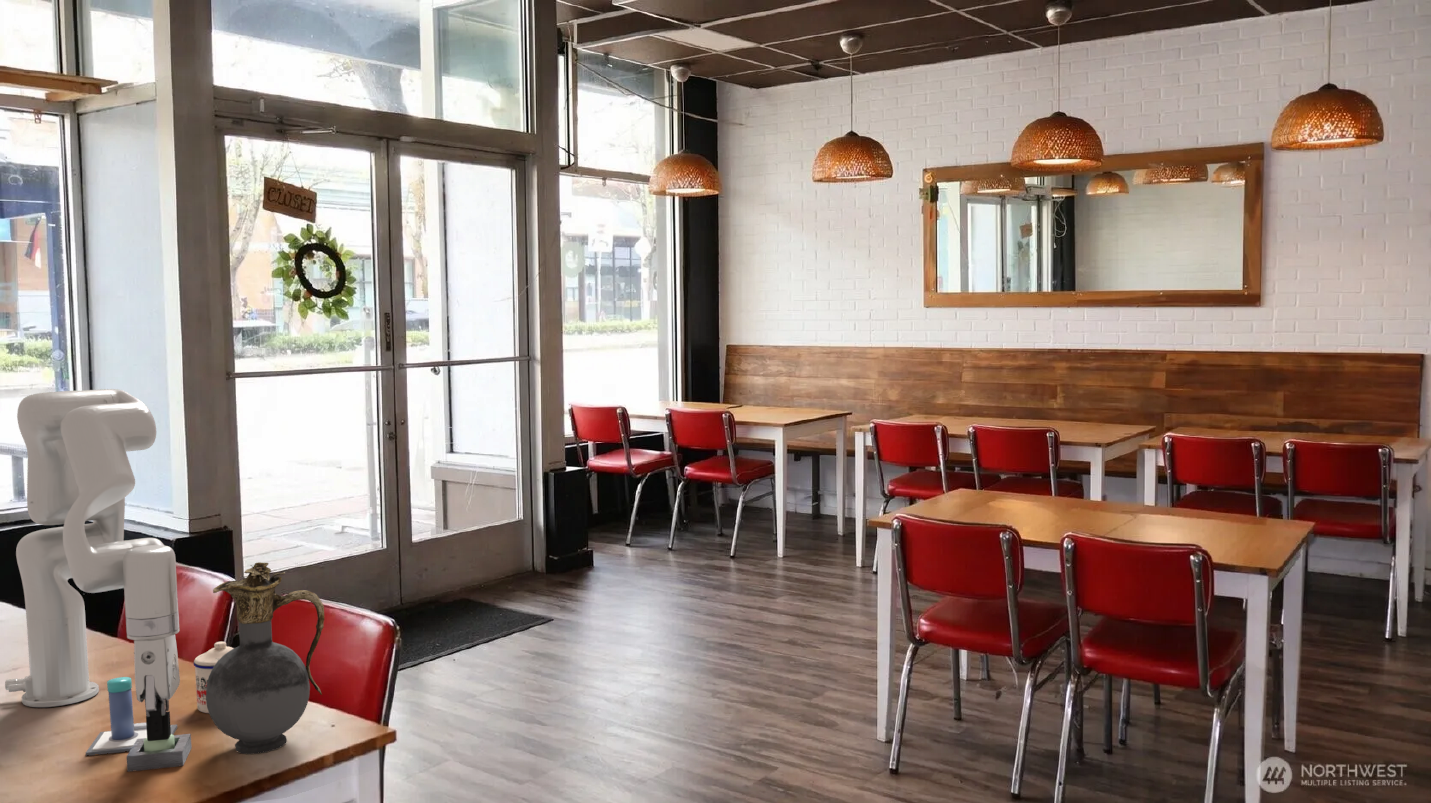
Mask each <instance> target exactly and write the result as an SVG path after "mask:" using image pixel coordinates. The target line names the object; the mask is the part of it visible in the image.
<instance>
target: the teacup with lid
mask: <svg viewBox="0 0 1431 803" xmlns="http://www.w3.org/2000/svg"><path fill="white" fill-rule="evenodd" d="M213 646H214V647H212V648H211V649H209V650H208V651H206V652H204V653H202V654H198V656H196V657H195V659H194V660H193V666H194V668H195V669H194V670H195V686H196V687H195V688H196V689H195V691H196V707H197V710H198V711H199V712H202V713H205V714H209V711H208V708H207V703H206V686H207V682H208V678H209V675H210V673H211V671H212V669H213V667H214V666H215V664H216V663H217V661H218V660H219V659H220V658H221V657H222V656H223V655H225V654H226V653H228V652H229V651H231V650H232V649H234V648H235V647H232V646H227V642H225V641H216V642H215V643H214V644H213Z"/></svg>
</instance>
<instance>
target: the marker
mask: <svg viewBox="0 0 1431 803" xmlns="http://www.w3.org/2000/svg"><path fill="white" fill-rule="evenodd" d="M132 681H133V680H132V677H129V676H119V677H114V678H111V679H109V680H107V682H106V684H107V693H108V703H109V704H108V706H109V719H110V720H109V721H110V731H111V736H112V739H113V740H123V739H128V738H131V737H133V736H134V724H135V723H134V709H133V694H132V688H133V686H132V685H133V684H132Z"/></svg>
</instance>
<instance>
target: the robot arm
mask: <svg viewBox="0 0 1431 803" xmlns="http://www.w3.org/2000/svg"><path fill="white" fill-rule="evenodd" d="M16 414H17V415H16V417H17V424H18V429H19V432H20V434H21V437H22V439H23V443H24V444H25V447H26V451H27V452H26V453H27V469H26V470H27V478H26V479H27V480H26V481H27V484H26V504H27V505H26V506H27V512H28V516H29V517H30V518H29V519H31V521H33V522H34V523H36V524H38V525H42V526H56V525H63V526H58V527H51V528H46V529H45V528H44V529H39V530H36V531H32V532H30V533H28V534H26V535H24V536H23V537H21V539H20V540H19V541H18V543H17V545H16V551H15V556H16V562H17V566H18V570H19V574H20V578H21V583H22V589H23V595H24V604H25V605H24V606H25V619H26V635H27V650H28V665H29V667H28V668H29V675H28V676H24V678H12V679H8V678H7V679H5V683H4V689H5V690H6V691H8V692H9V693H15V692H20V691H23V694H22V696H21V703H22V704H23V705H24V706H26V707H30V708H53V707H60V706H66V705H71V704H76V703H79V702H82V701H83V702H84V701H86V700H89V699H91V698H93V697H94V696H96V695H98V693H99V692H100V687H99V684H98V683H96V682H94V681H90V674H89V659H88V642H87V640H88V638H87V625H86V621H87V620H86V610H85V601H84V598H83V596H82V595H81V594H80V592H79V591H78V590H77V589H75V588H74V587H73V586H72V585H70V583H69V582H68V581H69V579H72V580H73V582H74V584H75V585H76V587H77V588H79V590H80V591H83V592H85V593H87V594H88V593H89V594H90V593H91V594H95V593H102V592H108V591H109V592H110V591H115V590H119V589H120V590H121V589H123V590H124V594H123V596H124V608H125V611H124V612H125V625H126V626H125V628H126V638H127V639H129V640H132V641H133V643H134V645H133V646H134V649H133V650H134V652H133V654H134V655H133V656H134V661H133V662H134V681H135V682H134V684H135V685H134V686H135V695H136V700H137V701H138V702H139V703H143V702H144V704H145V705H144V706H145V707H144V708H145V715H146V716H145V723H146V727H147V740H148V741H156V740H166V739H169V737H170V735H171V725H172V724H171V713H170V711H169V710H170V699H171V698H173V696H174V694H175V693H176V692H177V690H178V688H179V686H180V683H181V676H180V667H179V657H178V656H179V655H178V648H177V640H176V639H177V638H176V634H179V632H180V616H179V603H178V602H179V601H178V599H179V598H178V581H177V580H178V579H177V564H176V560H177V559H176V554H175V551H174V549H173V548H172V547H170V546H168V545H165V544H164V543H163V542H162V541H161V540H160V539H158V538H155V537H143V538H134V539H129V540H124V538H125V512H126V502H125V501H126V497H127V496H128V495H129V494H131V493H132V491H133V490H134V489H135V486H136V479H135V478H136V477H135V475H134V472H133V470H132V466H131V463H130V460H129V457H128V454H127V452H136V451H144V450H147V449H150V448H151V447H152V446H153V445H154V443H155V442H156V438H157V426H156V424H157V423H156V421H155V418H154V416H153V414H152V412H151V410H150V408H149V407H148V406H147V405H146V404H145V403H144V402H143V401H141V400H140V399H138V398H137V397H135V396H133V395H132V394H130V393H128V392H127V391H125V390H123V389H118V388H117V389H116V388H109V389H108V388H107V389H106V388H104V389H102V388H101V389H87V390H86V389H83V390H63V391H49V392H46V391H45V392H39V393H33V394H30V395H27V396H25V397H24V398H23V399H21V401H20V402H19V404H18V407H17V413H16ZM90 521H92V522H91V523H86V522H90Z"/></svg>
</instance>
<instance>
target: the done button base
mask: <svg viewBox="0 0 1431 803" xmlns="http://www.w3.org/2000/svg"><path fill="white" fill-rule="evenodd" d="M144 739H146V738H142V739H137V740H136V742H135V743H134V745H133V747H132V748H131V750H130V751H128V752H127V755H126V770H127V771H126V772H128V773H129V772H139V771H146V770H147V771H148V770H158V769H164V768H166V769H167V768H176V767H184V766H185V763H186V761H187V758H188V756H189V754H190V752H191V750H192V734H191V733H183V734H174V740H175V748H174V749H167V750H157V751H147V752H144Z"/></svg>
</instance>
